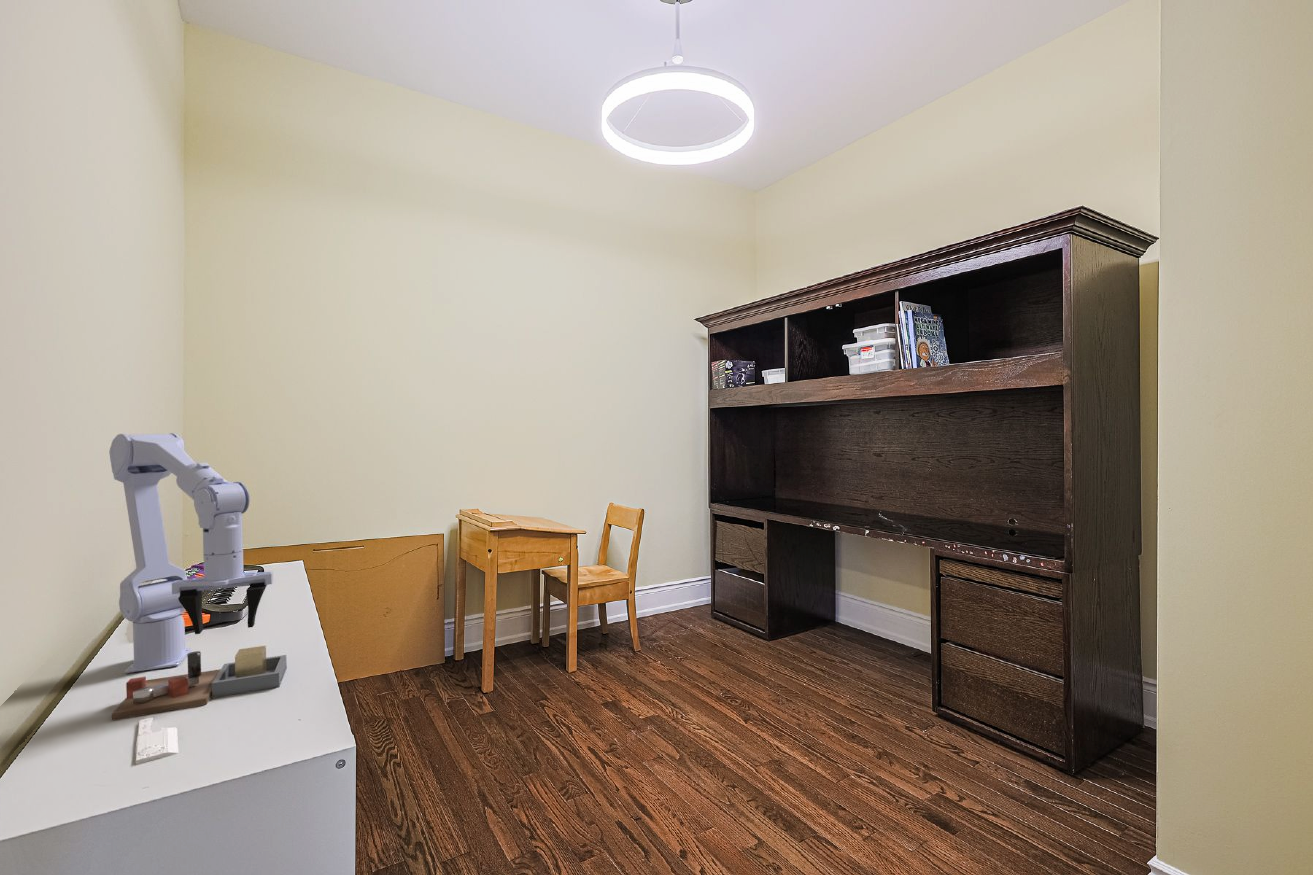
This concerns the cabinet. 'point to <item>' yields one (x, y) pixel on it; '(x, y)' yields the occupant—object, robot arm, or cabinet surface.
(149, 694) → the crank
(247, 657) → the stop block
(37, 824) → the cabinet surface
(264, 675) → the tray
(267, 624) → the cabinet surface
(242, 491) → the robot arm
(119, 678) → the cabinet surface
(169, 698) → the crank base
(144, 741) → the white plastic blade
